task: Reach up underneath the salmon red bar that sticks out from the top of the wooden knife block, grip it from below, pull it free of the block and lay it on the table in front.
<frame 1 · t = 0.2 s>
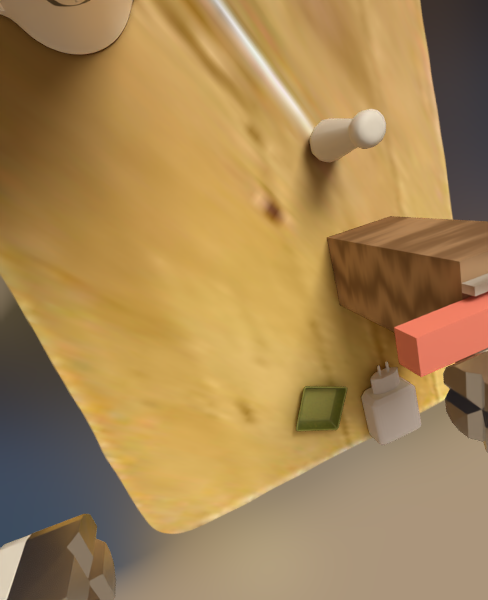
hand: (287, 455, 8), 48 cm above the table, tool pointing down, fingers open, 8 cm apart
green square tray: (316, 402, 68), on the table
salmon red bar: (487, 308, 38), point 26 cm above the table, touching wooden knife block
charger: (380, 390, 71), on the table
wooden knife block: (364, 261, 62), on the table
salt shaker: (321, 143, 55), on the table
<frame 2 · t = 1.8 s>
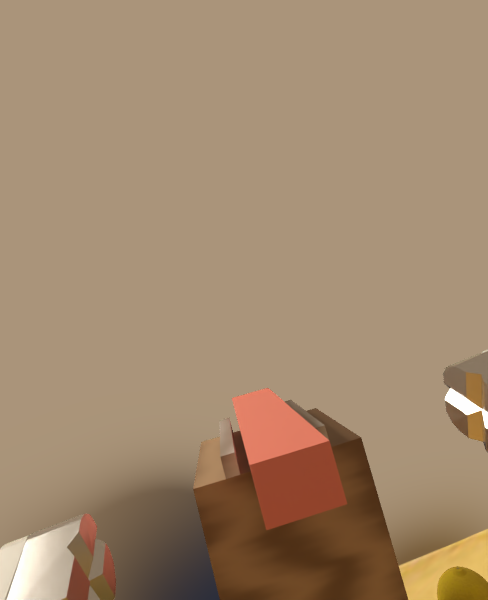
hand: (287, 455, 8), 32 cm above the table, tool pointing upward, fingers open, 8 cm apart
salmon red bar: (272, 450, 28), point 26 cm above the table, touching wooden knife block
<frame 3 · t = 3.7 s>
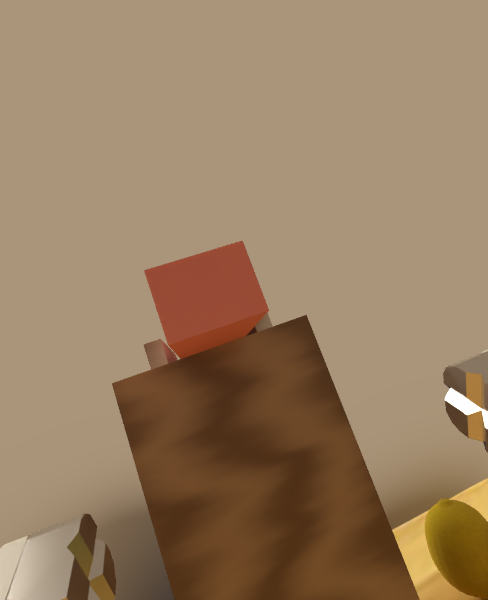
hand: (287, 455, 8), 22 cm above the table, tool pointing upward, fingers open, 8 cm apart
salmon red bar: (212, 351, 24), point 26 cm above the table, touching wooden knife block
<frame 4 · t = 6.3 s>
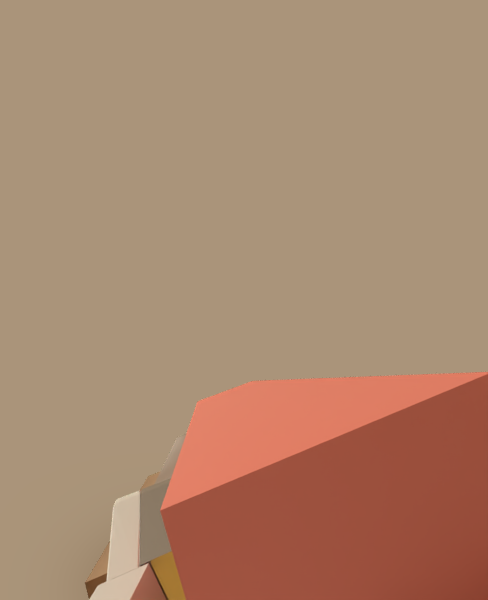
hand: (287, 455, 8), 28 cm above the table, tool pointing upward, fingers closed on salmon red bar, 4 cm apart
salmon red bar: (267, 472, 14), point 26 cm above the table, touching gripper, wooden knife block
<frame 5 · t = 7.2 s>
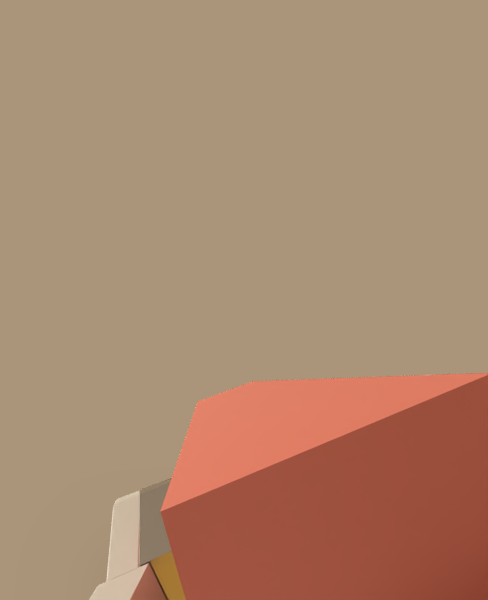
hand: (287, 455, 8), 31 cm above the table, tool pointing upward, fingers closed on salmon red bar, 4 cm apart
salmon red bar: (267, 473, 14), point 29 cm above the table, touching gripper
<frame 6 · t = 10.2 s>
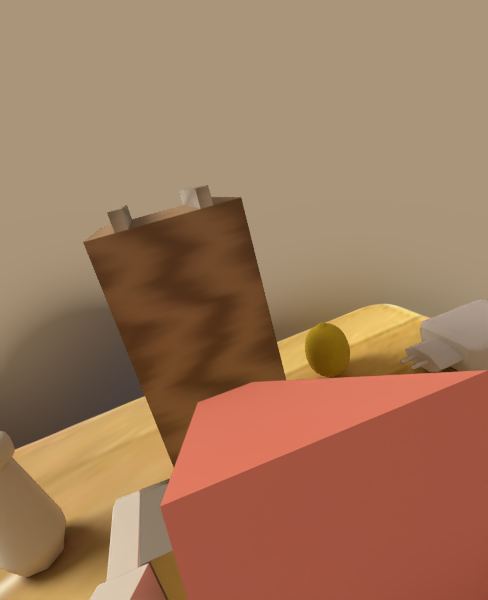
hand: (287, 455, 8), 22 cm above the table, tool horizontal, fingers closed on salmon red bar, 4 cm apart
salmon red bar: (267, 473, 14), point 17 cm above the table, tilted 30°, touching gripper
charger: (459, 362, 46), on the table
lemon: (332, 378, 49), on the table
wooden knife block: (234, 444, 41), on the table
salt shaker: (43, 555, 34), on the table
when the fingers open (13 cm above the table, at t = 12.3 s): salmon red bar drops 8 cm, on the table.
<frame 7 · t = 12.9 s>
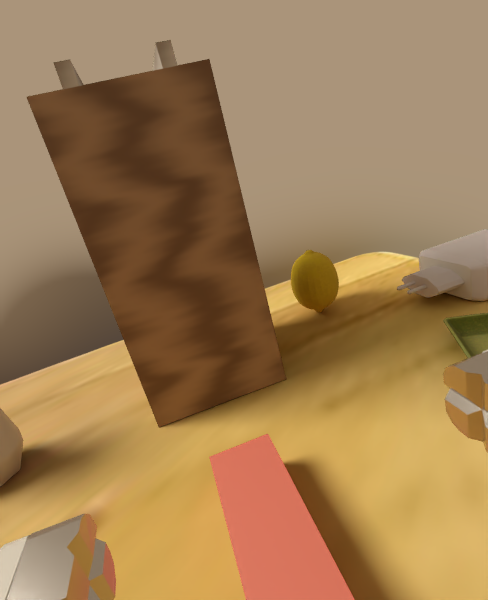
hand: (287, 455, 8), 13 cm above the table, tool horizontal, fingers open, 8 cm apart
charger: (460, 291, 42), on the table
lemon: (320, 313, 46), on the table
wooden knife block: (212, 371, 38), on the table
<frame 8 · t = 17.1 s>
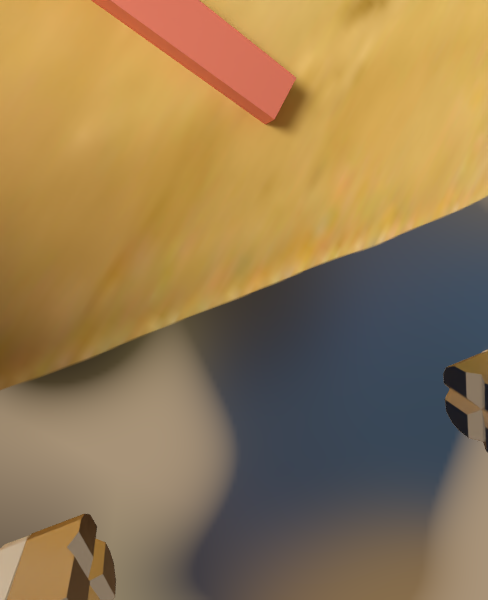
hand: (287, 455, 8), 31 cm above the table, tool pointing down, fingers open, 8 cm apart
salmon red bar: (171, 30, 32), on the table
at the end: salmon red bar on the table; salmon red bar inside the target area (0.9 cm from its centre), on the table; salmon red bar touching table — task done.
